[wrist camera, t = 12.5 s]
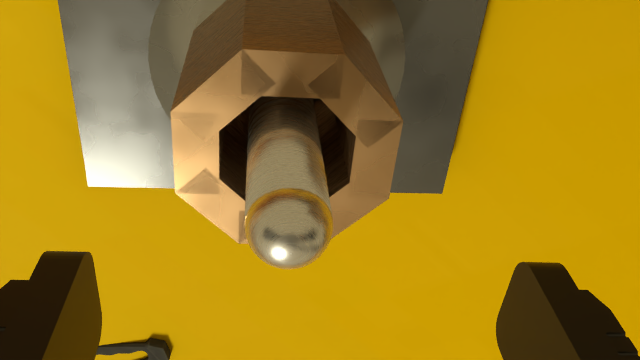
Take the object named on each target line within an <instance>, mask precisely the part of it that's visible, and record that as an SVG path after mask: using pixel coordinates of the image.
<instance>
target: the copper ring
mask: <svg viewBox="0 0 640 360" xmlns="http://www.w3.org/2000/svg"><path fill="white" fill-rule="evenodd" d="M261 96H274V97H296V98H318V99H319V100H317V101H316V102H315V103H314V107H315V113H316V120H317V126H318V132H319V138H320V144H321V150H322V156H323V162H324V168H325V174H326V180H327V186H328V192H329V199H330V205H331V211H332V217H333V232H332V236H331V238H333V237H334V236H336V235H337V234H339V233H340V232H341V231H343V230H344V229H346V228H347V227H349V226H350V225H351V224H353V223H354V222H356V221H357V220H359V219H360V218H361V217H363V216H364V215H366V214H367V213H369V212H370V211H371V210H373V209H374V208H376V207H377V206H379V205H380V204H382V203H383V202H384V201H386V200H387V199H389V195H390V189H391V184H392V179H393V173H394V168H395V163H396V157H397V152H398V147H399V141H400V136H401V131H402V125H403V120H402V117H401V115H400V112H399V110H398V108H397V105H396V103H395V101H394V98H393V96H392V94H391V91H390V89H389V87H388V84H387V82H386V79H385V77H384V75H383V72H382V70H381V68H380V65H379V63H378V61H377V58H376V56H375V54H374V51H373V49H372V46H371V44H370V42H369V40H368V39H367V38H366V36H365V35H364V34H363V33H362V32H361V30H360V29H359V28H358V27H357V26H356V24H355V23H354V22H353V21H352V20H351V18H350V17H349V16H348V15H347V14H346V12H345V11H344V10H343V9H342V8H341V6H340V5H339V4H338V3H337V2H336V0H226V1H225V2H224V3H223V4H222V5H220V6H219V7H218V8H217V9H216V10H215V11H214V12H213V13H212V14H211V15H210V16H209V17H207V18H206V19H205V20H204V21H203V22H202V23H201V24H200V25H199V26H198V27H197V28H196V29H195V30H193V34H192V37H191V41H190V44H189V48H188V51H187V55H186V59H185V62H184V66H183V69H182V73H181V76H180V80H179V83H178V87H177V90H176V94H175V97H174V101H173V105H172V108H171V129H172V147H173V164H174V182H175V193H176V194H177V195H178V196H180V197H181V198H182V199H183V200H185V201H186V202H187V203H188V204H190V205H191V206H192V207H193V208H195V209H196V210H197V211H199V212H200V213H201V214H202V215H204V216H205V217H206V218H207V219H209V220H210V221H211V222H212V223H214V224H215V225H216V226H217V227H219V228H220V229H221V230H223V231H224V232H225V233H226V234H228V235H229V236H230V237H231V238H233V239H234V240H235V241H236V242H238V243H245V244H249V243H248V241H247V238H246V234H245V226H244V221H245V196H246V171H247V146H248V121H249V106H250V105H251V104H252V103H253V102H255V101H256V100H257V99H258V98H259V97H261Z"/></svg>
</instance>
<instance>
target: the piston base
mask: <svg viewBox="0 0 640 360" xmlns="http://www.w3.org/2000/svg"><path fill="white" fill-rule="evenodd" d="M225 1H226V0H58V4H59V11H60V17H61V23H62V29H63V35H64V41H65V47H66V53H67V59H68V65H69V71H70V78H71V84H72V90H73V96H74V102H75V108H76V114H77V120H78V126H79V132H80V138H81V145H82V151H83V157H84V163H85V169H86V175H87V181H88V186H94V187H143V188H175V182H174V164H173V147H172V129H171V108H172V105H173V101H174V97H175V94H176V90H177V87H178V83H179V80H180V76H181V73H182V69H183V66H184V62H185V59H186V55H187V51H188V48H189V44H190V41H191V37H192V34H193V30H195V29H196V28H197V27H198V26H199V25H200V24H201V23H202V22H203V21H204V20H205V19H206V18H207V17H209V16H210V15H211V14H212V13H213V12H214V11H215V10H216V9H217V8H218V7H219V6H220V5H222V4H223V3H224V2H225ZM336 2H337V3H338V4H339V5H340V6H341V8H342V9H343V10H344V11H345V12H346V14H347V15H348V16H349V17H350V18H351V20H352V21H353V22H354V23H355V24H356V26H357V27H358V28H359V29H360V30H361V32H362V33H363V34H364V35H365V36H366V38H367V39H368V40H369V42H370V44H371V46H372V49H373V51H374V54H375V56H376V58H377V61H378V63H379V65H380V68H381V70H382V72H383V75H384V77H385V79H386V82H387V84H388V87H389V89H390V91H391V94H392V96H393V98H394V101H395V103H396V105H397V108H398V110H399V112H400V115H401V117H402V120H403V125H402V131H401V136H400V141H399V147H398V152H397V157H396V163H395V168H394V173H393V179H392V184H391V189H390V192H391V193H440V194H442V192H443V188H444V183H445V179H446V175H447V171H448V167H449V162H450V158H451V154H452V150H453V146H454V141H455V137H456V133H457V129H458V125H459V121H460V116H461V112H462V108H463V104H464V100H465V95H466V91H467V87H468V83H469V79H470V74H471V70H472V66H473V62H474V58H475V53H476V49H477V45H478V41H479V37H480V32H481V28H482V24H483V20H484V16H485V12H486V7H487V3H488V0H336ZM317 100H319V99H318V98H296V97H274V96H261V97H259V98H258V99H257V100H256V101H255V102H253V103H252V104H251V105H250V106H249V121H248V146H247V171H246V196H245V221H244V226H245V234H246V238H247V241H248V243H249V245H250V247H251V249H252V250H253V252H254V253H255V254H256V255H257V256H258V257H259V258H260V259H261V260H262V261H264V262H265V263H267V264H269V265H271V266H274V267H277V268H282V269H296V268H300V267H303V266H306V265H308V264H310V263H312V262H313V261H315V260H316V259H317V258H319V257H320V256H321V254H322V253H323V252H324V251H325V249H326V248H327V246H328V244H329V242H330V239H331V236H332V232H333V217H332V211H331V205H330V199H329V192H328V186H327V180H326V174H325V168H324V162H323V156H322V150H321V144H320V138H319V132H318V126H317V120H316V113H315V107H314V103H315V102H316V101H317Z"/></svg>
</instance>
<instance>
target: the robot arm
mask: <svg viewBox="0 0 640 360" xmlns="http://www.w3.org/2000/svg"><path fill="white" fill-rule="evenodd" d="M101 328H102V312H101V305H100V299H99V293H98V287H97V281H96V275H95V268H94V262H93V258H92V255H91V253H90V252H64V251H46V252H44V253H43V254H42V255H41V257H40V259H39V261H38V263H37V265H36V267H35V269H34V271H33V273H32V275H31V277H30V279H29V280H10V281H9V282H8V283H7V284H6V285H4V286H3V287H2V288H1V289H0V360H94V359H95V356H96V353H97V349H98V346H99V342H100V337H101ZM496 337H497V343H498V347H499V350H500V352H501V355H502V357H503V360H640V357H639V356H638V351H637V349H636V348H635V346H634V345H633V343H632V342H631V340H630V339H629V337H626V336H625V331H624V330H623V328H622V327H621V325H620V324H619V322H618V320H617V319H616V317H615V316H614V314H613V313H612V311H611V310H610V309H609V308H608V307H607V306H605V305H604V304H603V303H602V302H601V301H600V300H598V299H597V298H596V297H595V296H594V295H593V294H592V293H590V292H589V291H588V290H579V289H578V287H577V286H576V284H575V283H574V281H573V279H572V278H571V276H570V275H569V273H568V271H567V270H566V268H565V267H564V266H563V265H562V264H560V263H542V262H521V263H519V264H518V265H517V266H516V268H515V270H514V272H513V275H512V278H511V281H510V283H509V286H508V289H507V292H506V295H505V297H504V300H503V303H502V306H501V308H500V311H499V314H498V317H497V322H496Z"/></svg>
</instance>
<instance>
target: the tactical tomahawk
mask: <svg viewBox="0 0 640 360" xmlns="http://www.w3.org/2000/svg"><path fill="white" fill-rule="evenodd" d="M136 351H145V352H146V353H147V354H148V356H149V357H147V358H145V359H142V360H169V359H170V355H171V353H170V350H169V348H168V346H167V344H166V342H165V341H164V340H158V339H154V338H150V339H149V340H148V341H147V342H146V343H119V344H109V345H101V346H98V349H97V353H96V355H98V354H101V355H113V354H117V353H133V352H136Z"/></svg>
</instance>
